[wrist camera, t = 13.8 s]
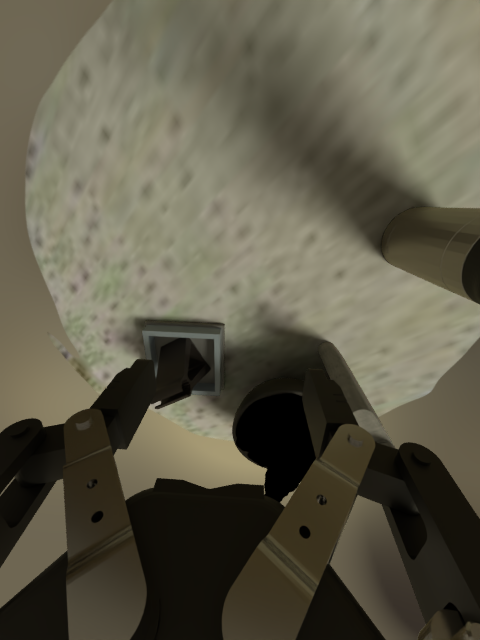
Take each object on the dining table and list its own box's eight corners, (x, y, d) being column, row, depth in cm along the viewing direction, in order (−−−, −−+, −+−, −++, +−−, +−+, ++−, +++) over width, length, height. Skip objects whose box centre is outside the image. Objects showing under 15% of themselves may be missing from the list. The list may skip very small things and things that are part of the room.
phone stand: (161, 345, 49) (135, 385, 39) (187, 333, 48) (167, 371, 37) (186, 379, 53) (169, 425, 42) (211, 368, 51) (199, 413, 40)
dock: (224, 324, 48) (222, 332, 45) (224, 387, 54) (222, 398, 51) (146, 320, 48) (138, 328, 45) (154, 383, 55) (149, 393, 52)
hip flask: (315, 346, 49) (351, 430, 31) (335, 337, 48) (385, 419, 30) (344, 402, 54) (390, 502, 36) (363, 395, 53) (420, 495, 35)
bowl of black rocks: (306, 340, 48) (335, 415, 31) (344, 411, 55) (384, 504, 38) (218, 380, 53) (201, 463, 36) (262, 440, 60) (266, 534, 43)
